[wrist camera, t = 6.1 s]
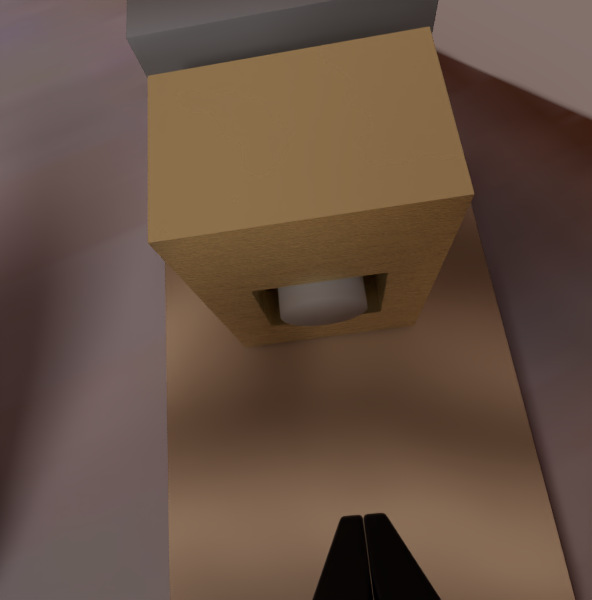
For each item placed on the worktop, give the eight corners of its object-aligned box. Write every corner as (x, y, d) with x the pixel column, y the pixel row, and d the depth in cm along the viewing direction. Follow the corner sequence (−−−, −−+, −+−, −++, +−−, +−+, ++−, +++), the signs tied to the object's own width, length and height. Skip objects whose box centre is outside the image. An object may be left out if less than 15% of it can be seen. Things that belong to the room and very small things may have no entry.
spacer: (414, 325, 16) (474, 194, 8) (245, 347, 17) (147, 242, 9) (394, 224, 18) (429, 26, 10) (238, 247, 18) (147, 75, 10)
